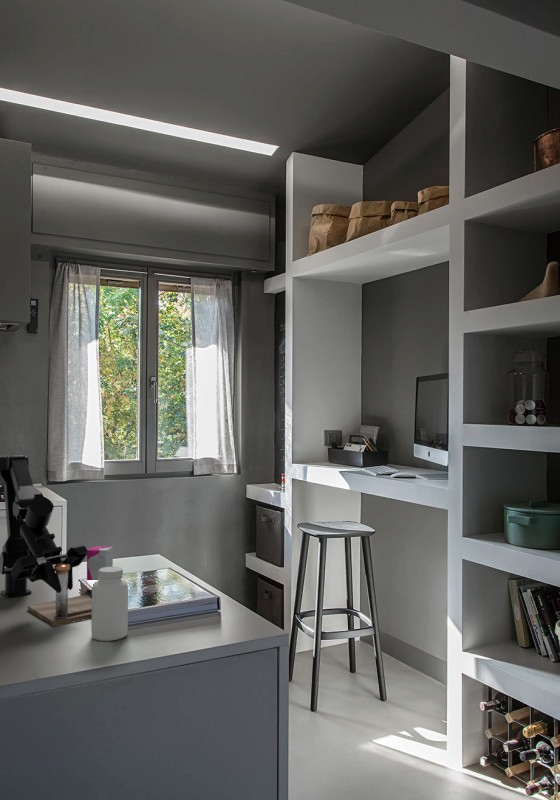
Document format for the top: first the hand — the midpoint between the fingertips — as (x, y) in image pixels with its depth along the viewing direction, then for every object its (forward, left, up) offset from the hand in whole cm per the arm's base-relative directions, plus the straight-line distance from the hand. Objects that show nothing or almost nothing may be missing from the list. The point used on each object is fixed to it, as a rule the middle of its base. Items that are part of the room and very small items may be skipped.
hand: (65, 590), depth 158 cm
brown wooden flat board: (-7, +5, -8) cm, 12 cm away
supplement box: (-22, +20, -8) cm, 31 cm away
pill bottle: (+16, +4, -8) cm, 18 cm away
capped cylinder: (-1, 0, -8) cm, 8 cm away
